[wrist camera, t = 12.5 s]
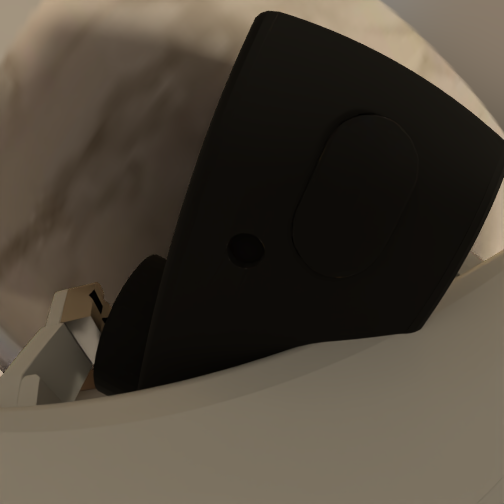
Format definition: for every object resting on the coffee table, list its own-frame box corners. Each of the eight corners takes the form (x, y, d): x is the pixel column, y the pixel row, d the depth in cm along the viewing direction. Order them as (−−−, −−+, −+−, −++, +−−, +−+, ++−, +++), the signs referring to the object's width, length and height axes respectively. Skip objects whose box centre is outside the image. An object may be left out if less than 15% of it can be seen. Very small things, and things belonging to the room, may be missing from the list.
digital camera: (248, 70, 9) (180, -19, 3) (391, 132, 9) (522, 145, 3) (167, 307, 13) (91, 426, 7) (277, 351, 13) (262, 490, 7)
